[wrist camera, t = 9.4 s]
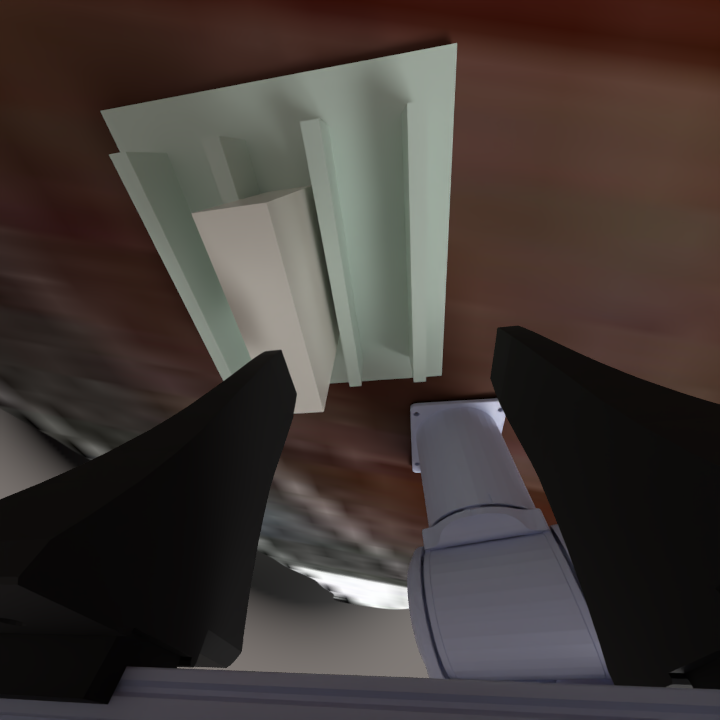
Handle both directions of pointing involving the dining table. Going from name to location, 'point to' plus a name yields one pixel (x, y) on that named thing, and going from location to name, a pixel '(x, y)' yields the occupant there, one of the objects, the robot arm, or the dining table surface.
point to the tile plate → (277, 283)
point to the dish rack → (331, 194)
